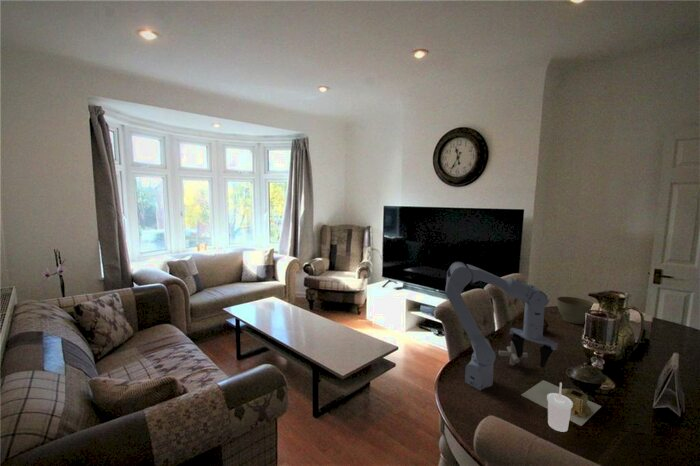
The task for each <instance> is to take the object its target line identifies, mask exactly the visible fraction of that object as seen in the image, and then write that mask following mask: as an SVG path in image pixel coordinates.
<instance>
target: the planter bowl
mask: <svg viewBox="0 0 700 466" xmlns="http://www.w3.org/2000/svg"><path fill="white" fill-rule="evenodd" d="M556 302H557V309H558V311H559V313H560V315H561V316H562V320H563V321H565V322H567V323H569V324H570V323H572V324H575V325H583V324H585V323H586V321H585V313H586V312H587V311H589V309H590V308H591V307H592V305H593V304H595V303H594V302H593V301H590V300H587V299H586V298H585V299H584V298H580V297H574V296H558V297H557V298H556ZM584 322H585V323H584Z"/></svg>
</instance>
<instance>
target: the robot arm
mask: <svg viewBox="0 0 700 466" xmlns="http://www.w3.org/2000/svg"><path fill="white" fill-rule="evenodd" d="M470 282H471V283H472V284H474V283H477V282H483V283H486V284H488V285H491V286H494V287H497V288H499V289H501V290H502V292H503V294H505V295H507V296H510V297H512V298H514V299H516V300H519V301H521V302H525V303H524V312H523V318H524V322H523V329H519V328H516V327H511V328H510V329H509V335H512V336H511V337H510V340H511V341H512V342H513V344H514V346H515V349H516V352H517V357H518V359H520V358H523V357H522V355H523V353H524V345H525V343H524V342H525V340H527V341H528V342H529V341H530V342H533V343H536V344H539V345H541V347H539V353H540V363H539V365H540V368H542V369H543V368H544V367H546V366H547V362H548V360H549V358H550V356H551V355H552V354H553V351H555V350H557V349H558V344H559V343H558V342H556V341H554V340H552V339H549V338H547V337H545V336H544V334H543V333H544V331H543V324H544V319H545V308H546V306H547V305H548V304H549V301H550V299H548V295H547V294H546V293H545V292H544V291H542V289H540V288H538V287H536V286H535V285H533V284H527V283H524V282H521V281H520V278H518V277H517V278H516V277H514V278H512V277H509V278H506V279H505V278H502V277H500V276H498V275H495V274H493V273H491V272H489V271H486V270H484V269H481V268H480V267H478V266H477V267H476V266H474V265H473V264H469V263H466V264H465V263H464V262H463V261H455V262H452V264H451V265H450V266H449V268H448V270H447V272H446V280H445V283H446V284H445V290H444V291H445V295H446V297H447V299H448V301H449V302H450V304H451V307H452V308H453V311H454V313H455V314H456V315H457V318H458V320H459V322H460V323H461V325H462V327H463V329H464V330H465V333H466V334H467V336H468V338H469V341H470V342H471V343H470V345H471V348H472V350H473V352H472V354H471V360H470V361H469V363H468V364H466V365H465V370H464V371H465V372H464V383H466V384H468V385H469V386H471V387H472V388H475V389H476V390H478V391H482V390H483V389H486V388H489V387H492V386H493V385H494V363H495V360H496V359H497V355H496V352H495V350H494V349H493V348H492V345H491V343H490V341H489V339H488V338H487V337H485V336H484V334H483V333H482V332H481V330H480V328H479V326H478V324H477V323H476V321H475V319H474V317H473V314H472V313H471V311H470V309H469V307H468V306H467V304H466V302H465V299H464V298H463V296H462V293H463V290H464V289H465V287H466V286H468V284H469V283H470Z"/></svg>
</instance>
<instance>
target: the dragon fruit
mask: <svg viewBox="0 0 700 466" xmlns="http://www.w3.org/2000/svg"><path fill="white" fill-rule="evenodd" d="M521 322H523V323H524V317H523V318H522V319H521ZM548 328H549V322H548V321H547V319H545V318H544V324H543V332H546V331H548Z"/></svg>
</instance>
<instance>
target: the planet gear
mask: <svg viewBox="0 0 700 466" xmlns="http://www.w3.org/2000/svg"><path fill="white" fill-rule="evenodd" d="M568 389H569V390H568V391H567V392H566V397H568V398H569V399H570V400H571V401H572V402H573V407H572V408H571V413H570V414H572V415H575V414H576V415H577V416H578V417H586V416H587V417H589V416H590V415H591V408H590V407H589V406H588V405H587V400H588V395H589V394H587V393H585V392H582V391H581V390H578V389H576V388H572V387H571V388H568Z"/></svg>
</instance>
